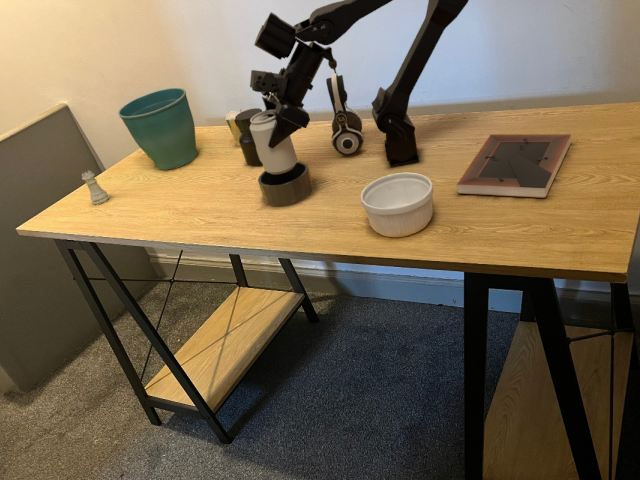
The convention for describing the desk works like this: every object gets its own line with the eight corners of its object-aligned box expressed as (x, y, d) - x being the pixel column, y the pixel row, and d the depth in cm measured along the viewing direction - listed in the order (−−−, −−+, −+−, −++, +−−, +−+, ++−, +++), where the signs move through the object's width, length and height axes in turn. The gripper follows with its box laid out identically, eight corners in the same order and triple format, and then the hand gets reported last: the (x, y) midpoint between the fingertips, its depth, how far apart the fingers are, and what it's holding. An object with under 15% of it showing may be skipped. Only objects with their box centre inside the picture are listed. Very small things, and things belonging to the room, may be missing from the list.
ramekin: (452, 218, 105) (447, 184, 101) (394, 251, 101) (387, 217, 97) (409, 196, 115) (403, 165, 111) (354, 225, 111) (346, 194, 107)
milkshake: (250, 146, 156) (238, 110, 151) (232, 148, 158) (219, 113, 152) (255, 138, 160) (243, 104, 154) (238, 141, 161) (225, 106, 156)
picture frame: (545, 199, 103) (570, 144, 117) (545, 187, 102) (571, 133, 116) (457, 194, 111) (491, 144, 125) (456, 183, 110) (490, 133, 124)
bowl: (316, 177, 132) (310, 157, 129) (310, 201, 123) (304, 180, 120) (269, 186, 134) (262, 166, 131) (261, 210, 125) (253, 190, 122)
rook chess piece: (94, 207, 147) (78, 179, 142) (92, 201, 150) (76, 173, 146) (111, 200, 148) (96, 172, 143) (108, 194, 151) (94, 166, 147)
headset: (335, 136, 149) (315, 57, 137) (364, 129, 148) (347, 49, 136) (335, 164, 135) (313, 79, 123) (367, 157, 134) (348, 71, 122)
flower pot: (187, 175, 150) (160, 112, 140) (133, 178, 157) (103, 118, 147) (220, 144, 163) (197, 84, 153) (168, 148, 170) (144, 91, 160)
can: (305, 160, 125) (289, 107, 118) (285, 177, 120) (266, 123, 113) (279, 158, 129) (261, 107, 122) (258, 175, 124) (239, 122, 117)
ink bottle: (270, 167, 142) (255, 121, 135) (240, 168, 146) (223, 123, 139) (286, 149, 149) (272, 104, 142) (257, 151, 152) (242, 107, 145)
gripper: (255, 43, 119) (224, 112, 124) (274, 61, 104) (238, 139, 109) (302, 69, 124) (270, 134, 129) (326, 90, 109) (289, 162, 114)
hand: (266, 141), depth 120 cm, fingers closed on can, 7 cm apart
